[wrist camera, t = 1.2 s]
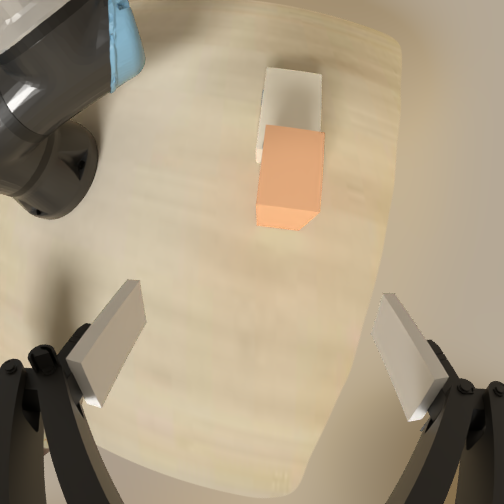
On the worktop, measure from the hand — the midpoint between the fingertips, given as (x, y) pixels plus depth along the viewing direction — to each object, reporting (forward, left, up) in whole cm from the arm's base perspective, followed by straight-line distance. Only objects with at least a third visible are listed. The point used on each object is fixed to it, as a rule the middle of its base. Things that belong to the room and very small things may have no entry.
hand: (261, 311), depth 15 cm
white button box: (-14, +16, -19) cm, 28 cm away
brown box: (-6, +8, -19) cm, 22 cm away
